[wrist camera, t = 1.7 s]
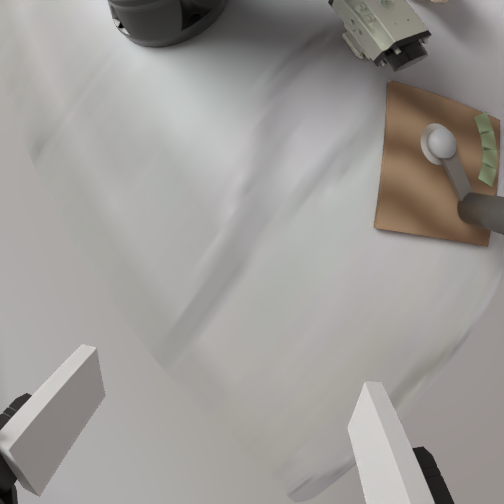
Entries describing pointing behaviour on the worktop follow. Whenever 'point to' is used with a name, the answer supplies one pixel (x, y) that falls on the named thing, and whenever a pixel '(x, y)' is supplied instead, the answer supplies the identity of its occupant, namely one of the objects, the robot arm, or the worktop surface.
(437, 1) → the teacup with lid
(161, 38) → the robot arm
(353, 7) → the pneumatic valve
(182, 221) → the worktop surface
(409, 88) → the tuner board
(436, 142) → the peg lever
